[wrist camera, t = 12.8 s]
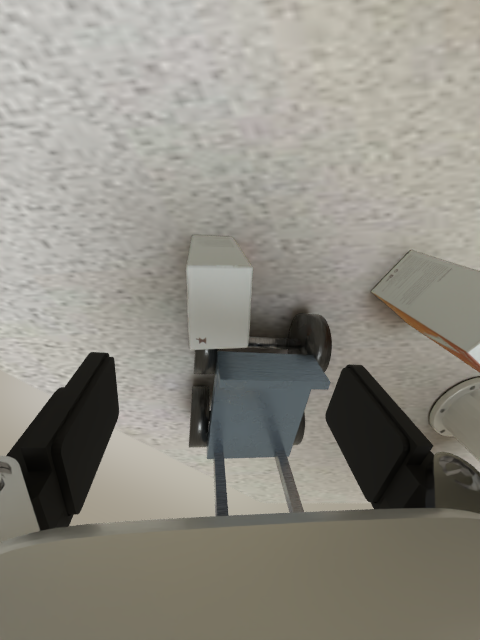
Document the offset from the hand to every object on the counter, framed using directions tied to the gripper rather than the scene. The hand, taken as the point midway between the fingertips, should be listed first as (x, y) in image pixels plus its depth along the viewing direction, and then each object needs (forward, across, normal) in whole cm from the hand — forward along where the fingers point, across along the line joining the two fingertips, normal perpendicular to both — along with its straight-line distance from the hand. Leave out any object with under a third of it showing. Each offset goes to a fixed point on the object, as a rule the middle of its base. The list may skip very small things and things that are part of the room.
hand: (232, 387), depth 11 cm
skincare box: (+19, +1, 0) cm, 19 cm away
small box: (+20, -23, 0) cm, 30 cm away
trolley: (+19, -5, +12) cm, 23 cm away
